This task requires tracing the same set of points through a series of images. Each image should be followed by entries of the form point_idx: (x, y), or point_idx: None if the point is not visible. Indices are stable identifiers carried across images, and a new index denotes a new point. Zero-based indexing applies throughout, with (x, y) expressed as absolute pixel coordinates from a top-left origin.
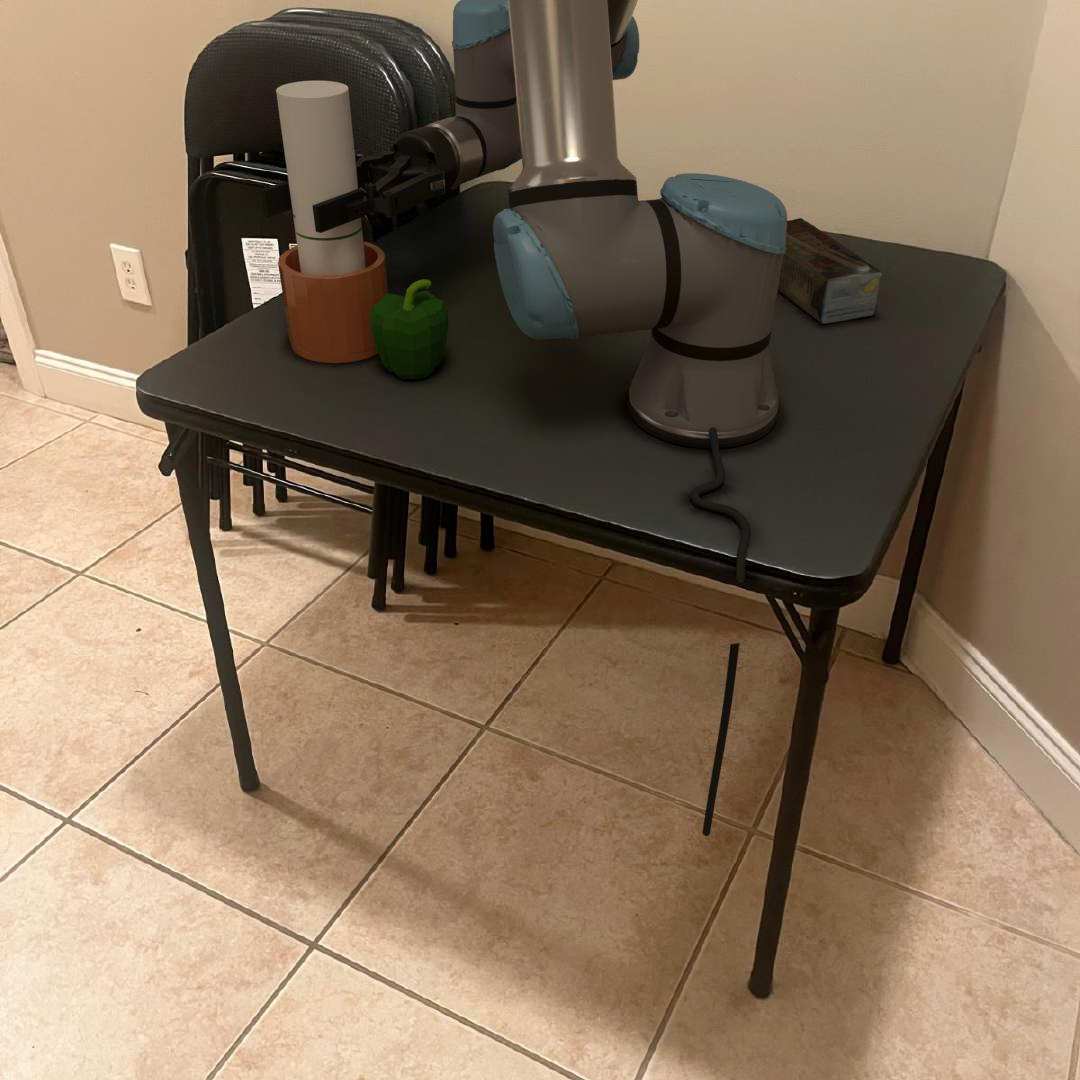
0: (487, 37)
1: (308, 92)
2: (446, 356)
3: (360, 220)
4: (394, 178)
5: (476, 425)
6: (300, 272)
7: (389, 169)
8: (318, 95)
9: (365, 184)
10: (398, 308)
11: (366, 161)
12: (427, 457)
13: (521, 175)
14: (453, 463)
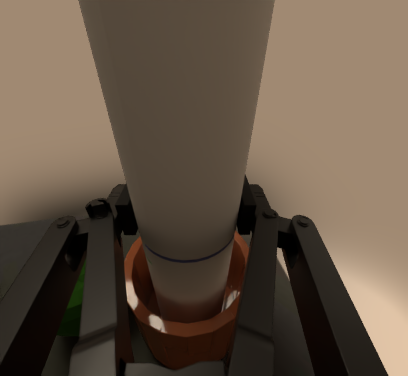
0: None
1: None
2: (68, 356)
3: (145, 250)
4: (83, 308)
5: (16, 267)
6: (239, 270)
7: (112, 330)
8: None
9: (106, 200)
10: (84, 263)
11: (233, 344)
12: (49, 226)
13: None
14: (30, 229)
